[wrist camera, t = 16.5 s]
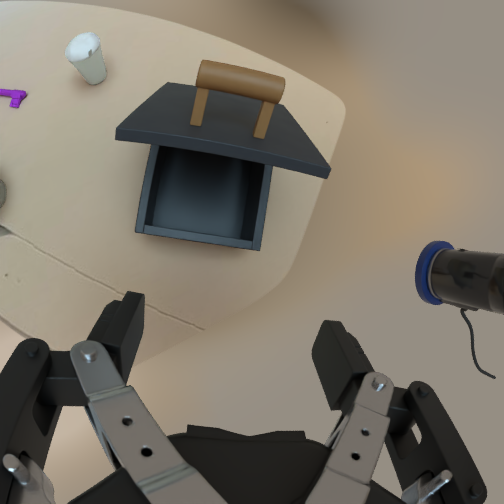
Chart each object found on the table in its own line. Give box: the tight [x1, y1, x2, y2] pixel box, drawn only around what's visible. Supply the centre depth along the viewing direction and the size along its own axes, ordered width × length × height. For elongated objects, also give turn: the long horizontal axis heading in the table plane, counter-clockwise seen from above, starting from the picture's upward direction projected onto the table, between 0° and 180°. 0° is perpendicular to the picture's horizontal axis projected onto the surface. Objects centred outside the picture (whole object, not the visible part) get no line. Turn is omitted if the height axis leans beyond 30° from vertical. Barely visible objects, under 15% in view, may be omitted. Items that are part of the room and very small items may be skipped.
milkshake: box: [65, 32, 107, 85], centre depth 27 cm, size 4×5×10 cm
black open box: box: [135, 144, 273, 251], centre depth 33 cm, size 16×13×8 cm
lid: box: [115, 60, 331, 179], centre depth 21 cm, size 17×13×5 cm
